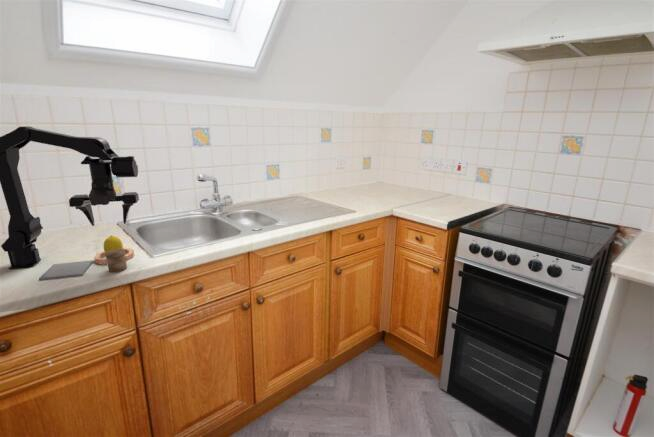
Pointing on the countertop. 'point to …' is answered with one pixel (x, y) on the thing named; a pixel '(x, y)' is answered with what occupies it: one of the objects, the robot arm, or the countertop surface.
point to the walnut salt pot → (116, 260)
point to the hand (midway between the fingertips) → (109, 224)
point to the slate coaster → (66, 270)
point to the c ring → (101, 260)
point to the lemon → (112, 243)
